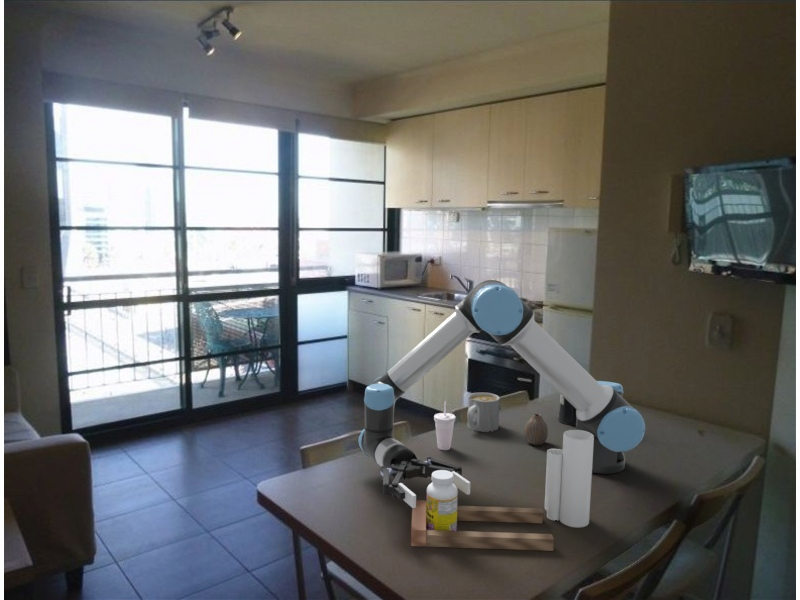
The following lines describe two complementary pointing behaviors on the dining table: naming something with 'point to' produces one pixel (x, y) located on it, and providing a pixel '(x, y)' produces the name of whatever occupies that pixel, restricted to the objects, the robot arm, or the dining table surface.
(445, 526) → the supplement bottle
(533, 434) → the vase
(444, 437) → the smoothie
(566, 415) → the milk frother
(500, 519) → the channel
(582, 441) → the white joined tall cylinders
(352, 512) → the dining table surface
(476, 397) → the coffee mug
